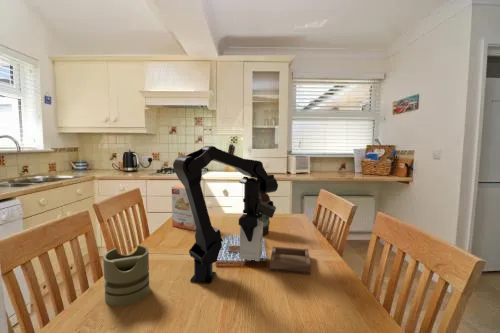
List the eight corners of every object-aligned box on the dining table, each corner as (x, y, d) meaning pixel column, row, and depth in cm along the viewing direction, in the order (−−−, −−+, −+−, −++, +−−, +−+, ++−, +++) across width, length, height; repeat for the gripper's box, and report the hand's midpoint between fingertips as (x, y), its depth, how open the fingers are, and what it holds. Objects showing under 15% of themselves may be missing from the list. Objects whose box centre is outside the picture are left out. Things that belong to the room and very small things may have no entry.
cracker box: (171, 226, 130) (170, 185, 128) (179, 223, 136) (179, 184, 134) (193, 231, 124) (192, 188, 122) (201, 227, 129) (200, 186, 127)
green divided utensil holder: (149, 257, 69) (100, 265, 64) (150, 300, 70) (102, 311, 65) (147, 242, 79) (105, 248, 74) (148, 280, 80) (107, 288, 76)
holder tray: (310, 274, 84) (310, 265, 84) (269, 270, 86) (269, 262, 86) (308, 256, 98) (308, 249, 97) (272, 254, 100) (272, 246, 99)
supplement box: (259, 261, 90) (260, 226, 89) (239, 259, 91) (239, 224, 90) (262, 253, 97) (263, 220, 96) (243, 251, 98) (244, 218, 97)
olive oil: (243, 232, 123) (243, 180, 121) (258, 227, 130) (259, 178, 128) (258, 238, 116) (259, 183, 113) (274, 233, 123) (275, 181, 121)
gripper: (272, 202, 82) (271, 249, 83) (276, 191, 100) (275, 230, 101) (238, 200, 83) (238, 247, 85) (248, 190, 102) (247, 228, 103)
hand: (251, 237), depth 93 cm, fingers closed on supplement box, 7 cm apart
